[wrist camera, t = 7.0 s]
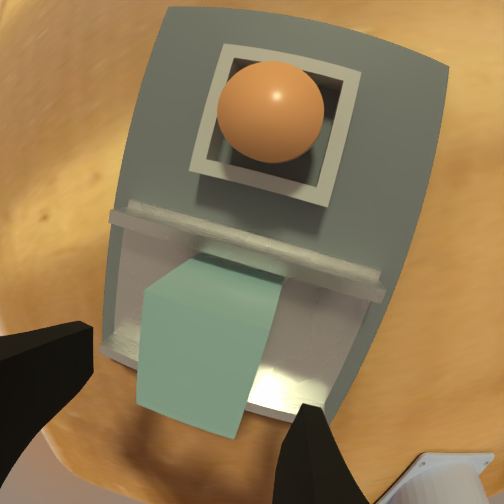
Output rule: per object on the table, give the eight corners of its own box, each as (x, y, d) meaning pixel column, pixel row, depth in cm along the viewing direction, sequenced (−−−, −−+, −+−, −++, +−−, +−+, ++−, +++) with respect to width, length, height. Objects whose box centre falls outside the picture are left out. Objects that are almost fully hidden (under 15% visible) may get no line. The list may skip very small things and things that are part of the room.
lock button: (309, 174, 11) (309, 173, 10) (217, 151, 12) (205, 148, 10) (331, 86, 11) (334, 74, 9) (240, 67, 11) (231, 53, 10)
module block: (256, 369, 15) (234, 439, 10) (180, 345, 15) (136, 403, 11) (283, 278, 14) (270, 330, 9) (197, 253, 14) (144, 289, 9)
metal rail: (318, 411, 15) (318, 433, 14) (116, 343, 17) (99, 357, 15) (380, 269, 13) (389, 282, 12) (132, 198, 15) (111, 201, 13)
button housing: (325, 204, 13) (327, 207, 12) (200, 171, 14) (188, 170, 12) (356, 83, 12) (361, 72, 10) (232, 56, 12) (223, 43, 11)
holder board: (326, 419, 17) (326, 430, 16) (110, 346, 18) (102, 354, 17) (441, 72, 11) (449, 66, 11) (176, 14, 13) (168, 6, 12)
